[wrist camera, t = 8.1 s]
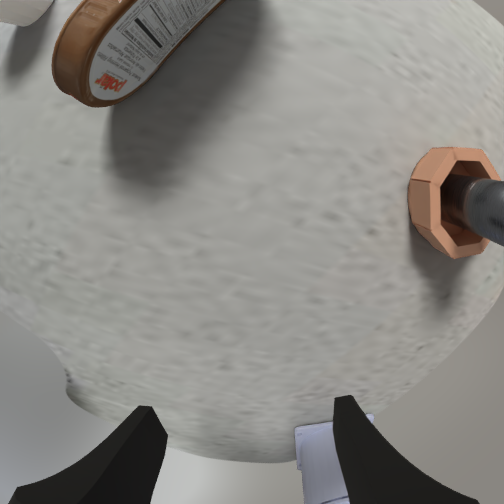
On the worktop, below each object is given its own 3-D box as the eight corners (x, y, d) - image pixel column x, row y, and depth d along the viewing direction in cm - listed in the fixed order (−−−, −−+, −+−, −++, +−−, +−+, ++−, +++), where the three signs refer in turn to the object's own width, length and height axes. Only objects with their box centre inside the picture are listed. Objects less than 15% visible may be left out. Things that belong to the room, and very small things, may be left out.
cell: (465, 220, 16) (541, 252, 9) (431, 223, 17) (509, 260, 9) (465, 173, 15) (546, 188, 8) (431, 173, 16) (515, 186, 8)
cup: (476, 239, 17) (498, 249, 14) (408, 249, 18) (428, 263, 15) (474, 150, 15) (499, 151, 12) (403, 147, 16) (426, 146, 13)
